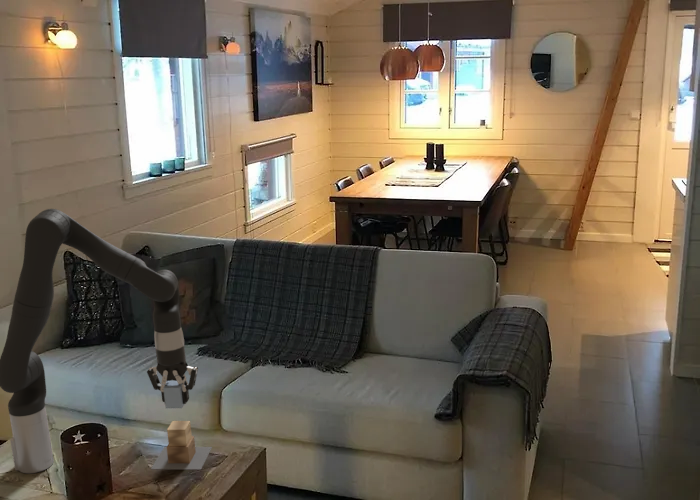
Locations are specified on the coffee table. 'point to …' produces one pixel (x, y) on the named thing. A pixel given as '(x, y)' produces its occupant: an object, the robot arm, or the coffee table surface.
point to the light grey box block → (173, 395)
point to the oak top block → (179, 433)
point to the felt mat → (195, 463)
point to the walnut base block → (181, 452)
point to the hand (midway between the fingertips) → (176, 402)
